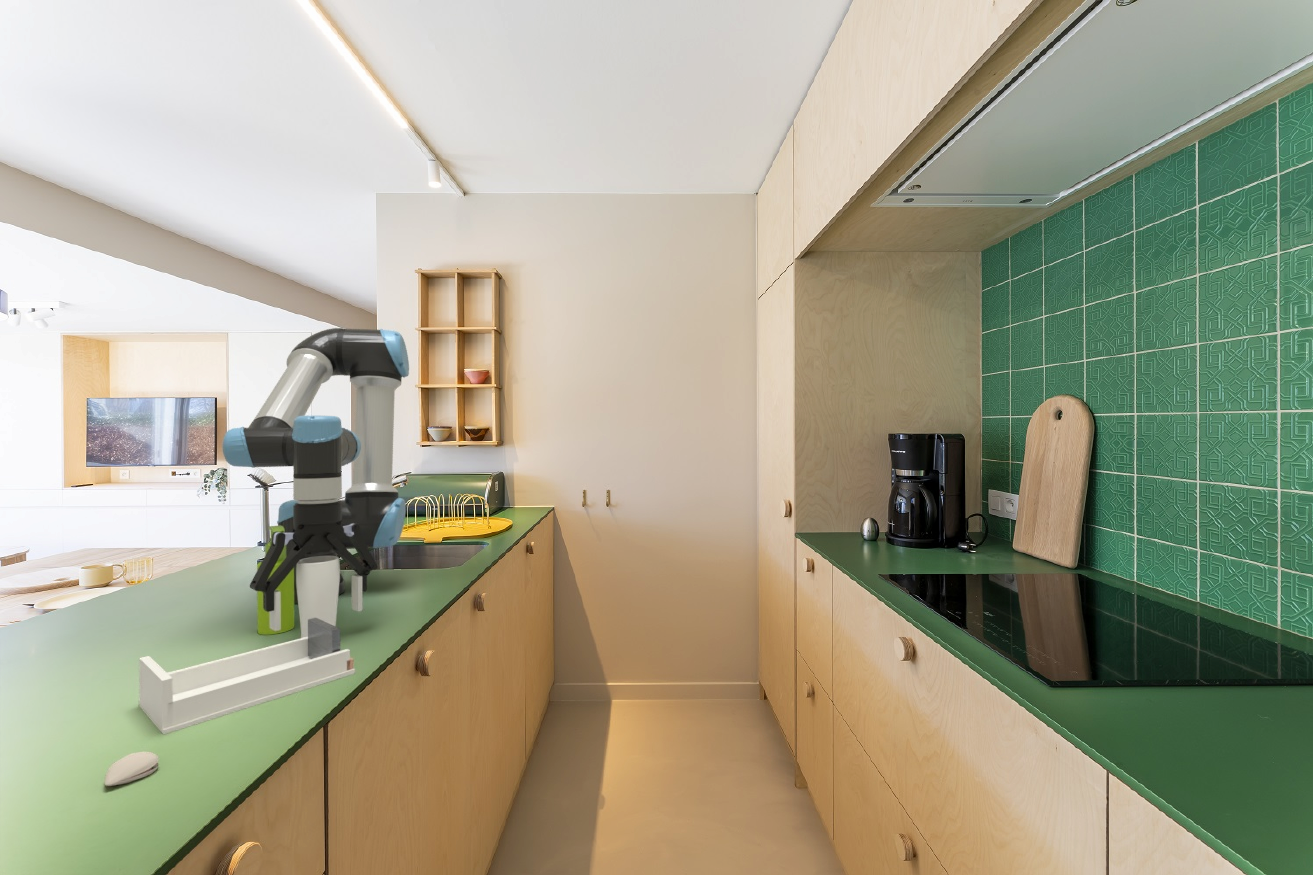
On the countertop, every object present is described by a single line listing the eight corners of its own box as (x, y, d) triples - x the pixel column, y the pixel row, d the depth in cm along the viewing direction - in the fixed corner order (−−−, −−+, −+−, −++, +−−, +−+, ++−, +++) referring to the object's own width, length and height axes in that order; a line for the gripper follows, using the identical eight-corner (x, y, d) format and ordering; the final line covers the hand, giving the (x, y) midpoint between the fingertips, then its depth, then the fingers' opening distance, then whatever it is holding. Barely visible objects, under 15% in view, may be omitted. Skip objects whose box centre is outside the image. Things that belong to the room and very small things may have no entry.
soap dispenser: (260, 638, 104) (259, 529, 104) (255, 628, 109) (255, 525, 109) (297, 631, 108) (297, 526, 108) (291, 622, 113) (291, 522, 113)
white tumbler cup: (333, 633, 107) (333, 553, 107) (345, 642, 102) (344, 559, 102) (292, 642, 102) (291, 559, 102) (301, 652, 97) (301, 565, 97)
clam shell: (168, 768, 64) (168, 746, 64) (128, 796, 59) (127, 772, 59) (128, 769, 64) (128, 746, 64) (85, 797, 59) (85, 773, 59)
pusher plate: (315, 653, 94) (315, 617, 94) (340, 666, 89) (340, 628, 89) (307, 655, 93) (307, 619, 93) (332, 669, 88) (332, 630, 88)
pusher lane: (319, 654, 96) (319, 614, 96) (355, 674, 88) (354, 630, 88) (138, 706, 78) (138, 657, 78) (163, 736, 70) (163, 681, 70)
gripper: (376, 494, 114) (377, 599, 114) (227, 506, 95) (227, 633, 94) (395, 496, 110) (396, 606, 110) (243, 509, 90) (243, 643, 90)
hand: (318, 619), depth 102 cm, fingers open, 13 cm apart
